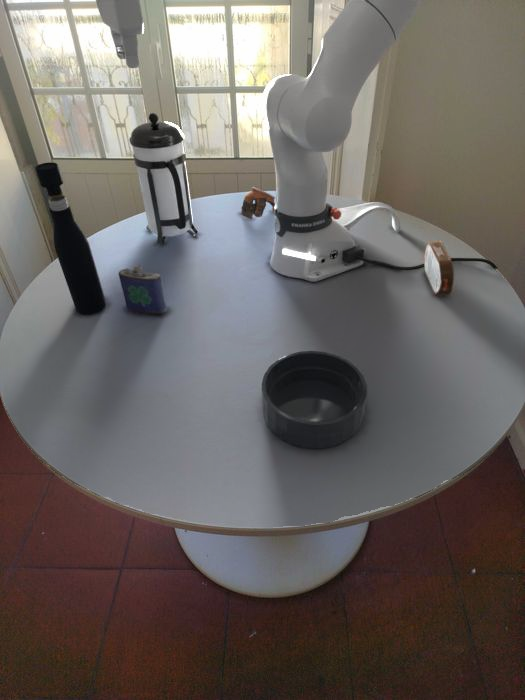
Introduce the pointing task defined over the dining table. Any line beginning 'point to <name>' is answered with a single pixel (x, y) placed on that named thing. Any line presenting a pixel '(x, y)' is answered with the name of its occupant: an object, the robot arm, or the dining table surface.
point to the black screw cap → (313, 399)
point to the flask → (142, 291)
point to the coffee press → (163, 178)
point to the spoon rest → (359, 211)
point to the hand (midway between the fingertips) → (128, 62)
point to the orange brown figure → (256, 203)
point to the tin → (438, 268)
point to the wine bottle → (71, 245)
